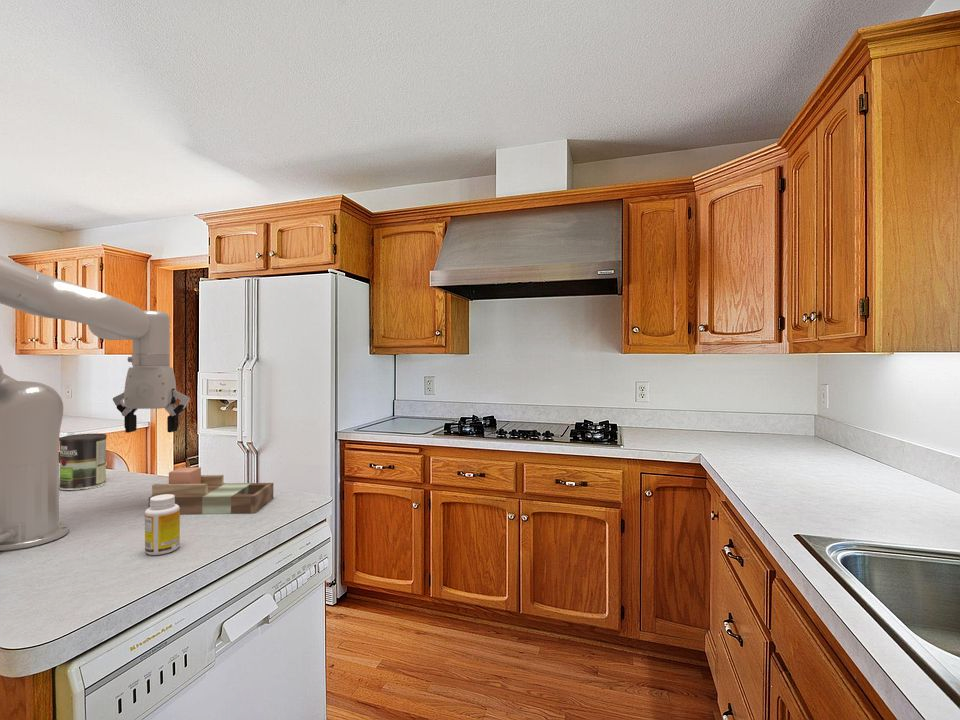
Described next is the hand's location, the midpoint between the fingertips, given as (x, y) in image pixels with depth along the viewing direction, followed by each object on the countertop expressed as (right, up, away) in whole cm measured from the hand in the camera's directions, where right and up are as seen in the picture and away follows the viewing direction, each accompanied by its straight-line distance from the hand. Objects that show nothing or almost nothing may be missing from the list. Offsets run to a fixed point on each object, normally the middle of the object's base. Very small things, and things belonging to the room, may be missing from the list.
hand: (151, 431), depth 117 cm
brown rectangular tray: (+15, -18, +1) cm, 24 cm away
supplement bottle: (+20, -19, -26) cm, 38 cm away
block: (+8, -14, 0) cm, 16 cm away
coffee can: (-31, -18, +18) cm, 41 cm away
